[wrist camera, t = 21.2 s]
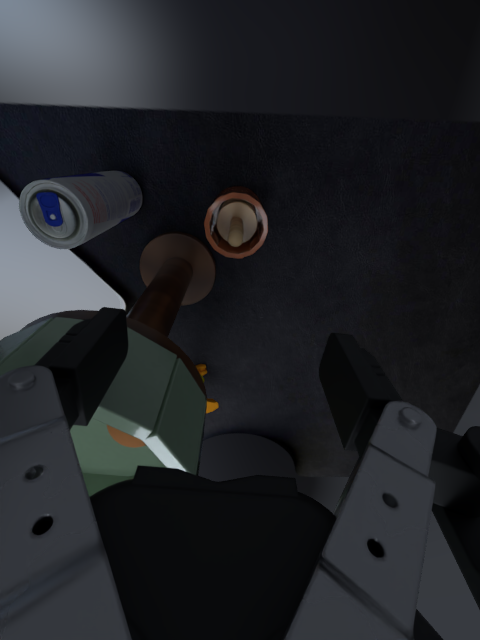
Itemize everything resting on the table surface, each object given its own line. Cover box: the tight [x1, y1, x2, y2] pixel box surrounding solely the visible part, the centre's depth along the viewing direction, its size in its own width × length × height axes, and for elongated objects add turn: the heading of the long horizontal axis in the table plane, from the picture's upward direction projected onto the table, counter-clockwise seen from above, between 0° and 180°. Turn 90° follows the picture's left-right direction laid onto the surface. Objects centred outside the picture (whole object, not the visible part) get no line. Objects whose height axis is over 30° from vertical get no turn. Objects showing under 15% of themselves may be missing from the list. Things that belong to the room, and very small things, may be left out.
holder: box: [204, 186, 268, 258], centre depth 33 cm, size 6×6×8 cm
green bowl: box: [0, 317, 207, 497], centre depth 16 cm, size 13×13×5 cm
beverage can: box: [19, 171, 142, 249], centre depth 28 cm, size 5×5×15 cm
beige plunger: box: [216, 198, 257, 247], centre depth 30 cm, size 5×5×12 cm
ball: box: [106, 424, 146, 448], centre depth 15 cm, size 3×3×3 cm
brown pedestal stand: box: [20, 231, 216, 416], centre depth 29 cm, size 13×13×25 cm
